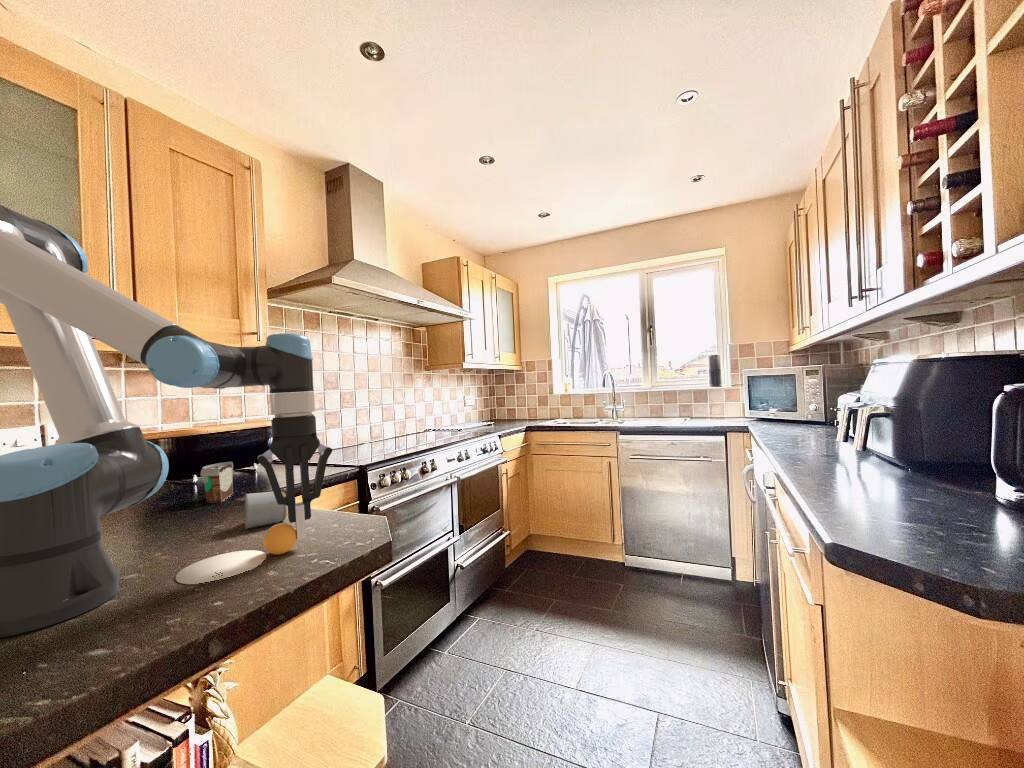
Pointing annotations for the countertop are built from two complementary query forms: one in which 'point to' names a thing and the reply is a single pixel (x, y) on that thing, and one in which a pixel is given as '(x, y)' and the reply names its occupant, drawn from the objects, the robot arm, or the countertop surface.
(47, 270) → the robot arm
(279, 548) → the ball
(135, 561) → the countertop surface
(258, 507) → the ceramic mug
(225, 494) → the food container
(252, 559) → the cream disc
